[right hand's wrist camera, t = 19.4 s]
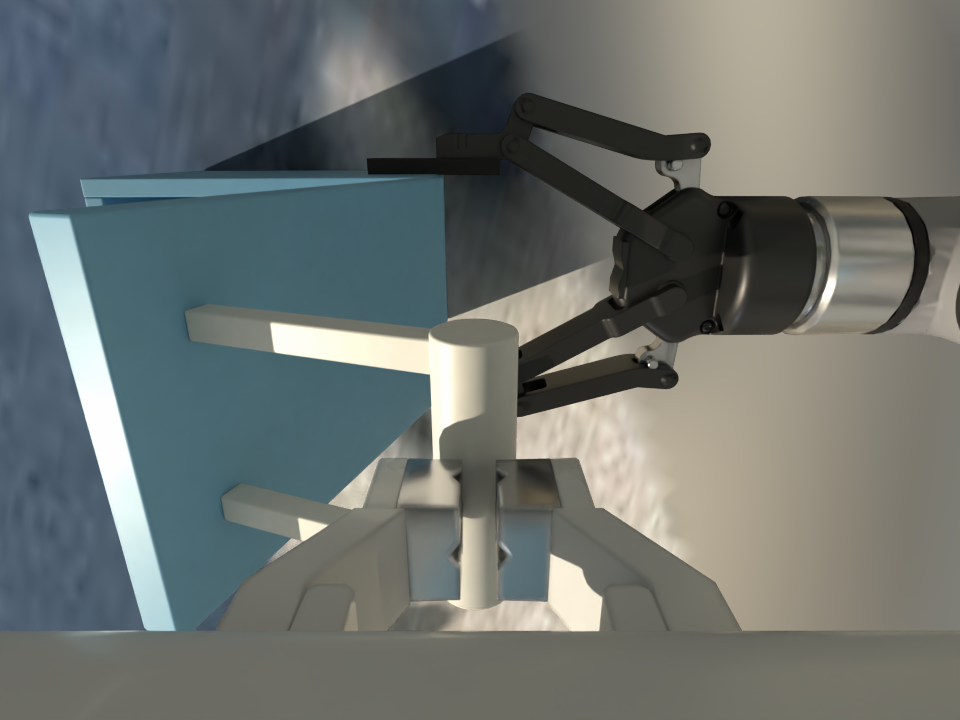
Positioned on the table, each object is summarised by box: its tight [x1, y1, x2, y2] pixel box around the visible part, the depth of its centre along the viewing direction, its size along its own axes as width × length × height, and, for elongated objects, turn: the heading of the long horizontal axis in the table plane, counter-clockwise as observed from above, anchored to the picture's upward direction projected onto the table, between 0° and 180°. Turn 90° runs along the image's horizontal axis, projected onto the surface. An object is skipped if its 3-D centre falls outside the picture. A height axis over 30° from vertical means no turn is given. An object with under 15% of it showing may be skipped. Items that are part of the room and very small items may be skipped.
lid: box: [29, 178, 519, 631], centre depth 17 cm, size 16×10×8 cm
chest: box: [80, 170, 448, 320], centre depth 31 cm, size 15×10×11 cm, turn 90°
